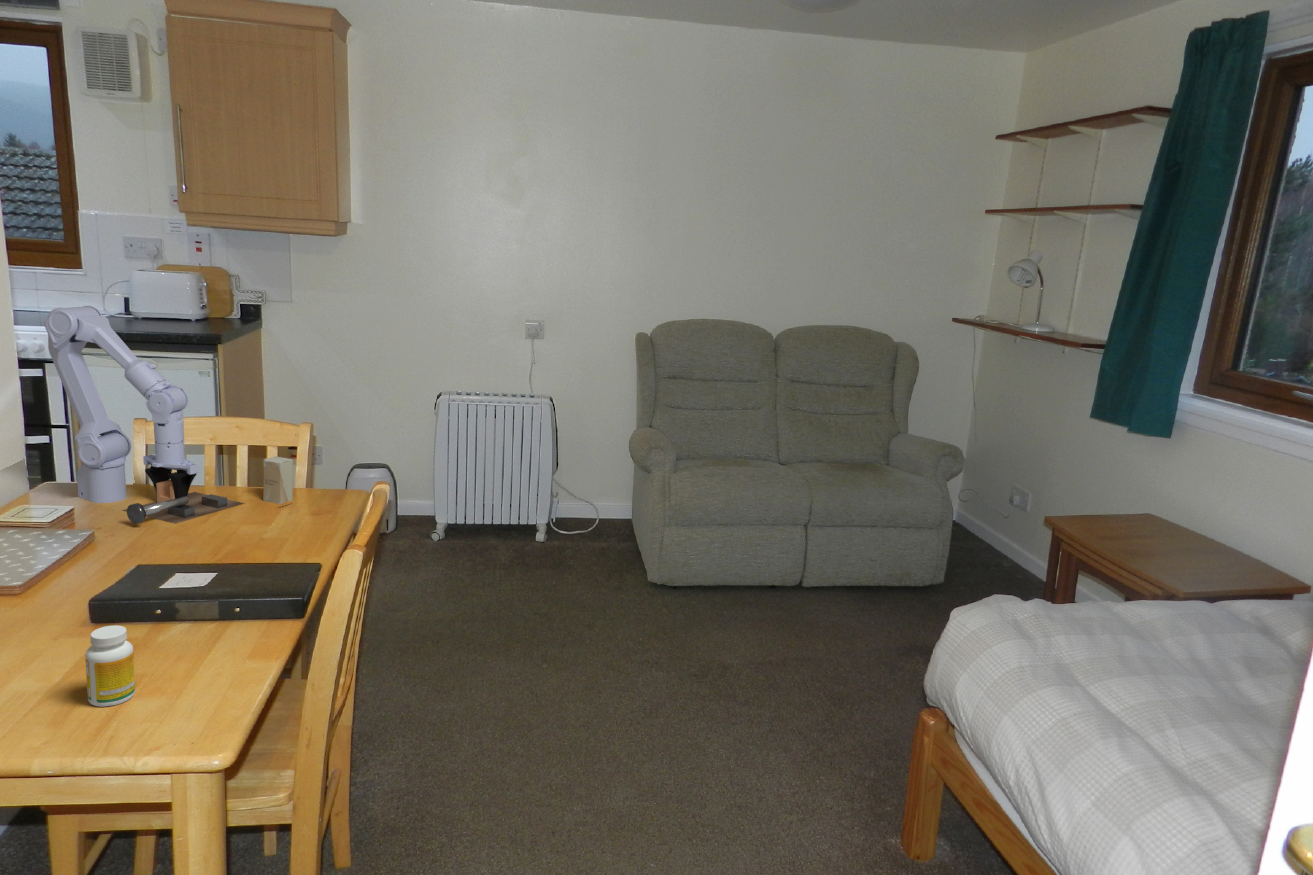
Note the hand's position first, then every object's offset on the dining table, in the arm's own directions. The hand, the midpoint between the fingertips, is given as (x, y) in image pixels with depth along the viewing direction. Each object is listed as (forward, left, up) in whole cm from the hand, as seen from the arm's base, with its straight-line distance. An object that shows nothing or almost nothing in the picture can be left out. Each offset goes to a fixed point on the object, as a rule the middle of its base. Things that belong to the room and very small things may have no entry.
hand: (172, 499), depth 189 cm
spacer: (0, 0, -1) cm, 1 cm away
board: (+4, 0, -2) cm, 4 cm away
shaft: (+8, -9, 0) cm, 12 cm away
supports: (+8, 0, -1) cm, 8 cm away
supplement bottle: (+63, -60, -2) cm, 87 cm away
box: (+16, +15, -2) cm, 22 cm away
